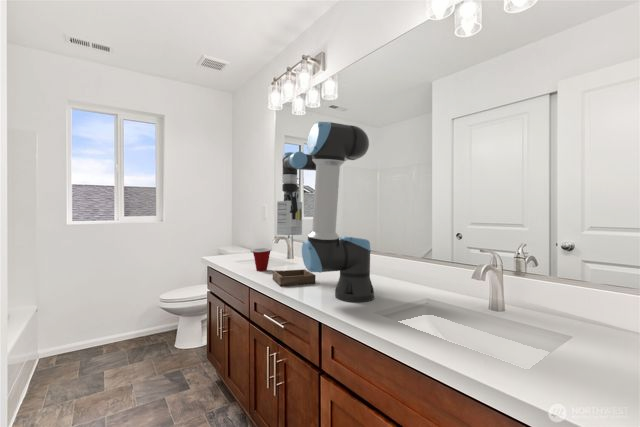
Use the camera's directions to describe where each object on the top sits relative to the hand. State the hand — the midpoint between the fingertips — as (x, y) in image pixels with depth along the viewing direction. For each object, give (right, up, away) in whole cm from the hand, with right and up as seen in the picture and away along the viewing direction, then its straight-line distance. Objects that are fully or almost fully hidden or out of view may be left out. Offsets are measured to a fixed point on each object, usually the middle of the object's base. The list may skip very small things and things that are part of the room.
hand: (289, 226), depth 154 cm
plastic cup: (-18, -26, +18) cm, 36 cm away
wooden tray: (+3, -26, -10) cm, 28 cm away
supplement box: (0, -5, 0) cm, 5 cm away
